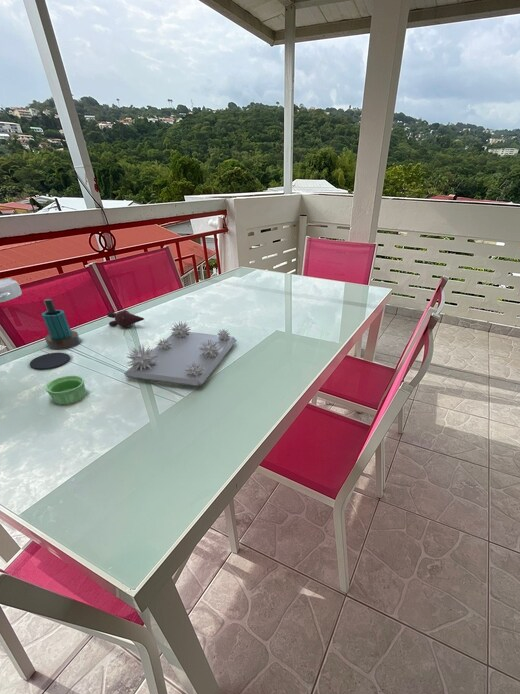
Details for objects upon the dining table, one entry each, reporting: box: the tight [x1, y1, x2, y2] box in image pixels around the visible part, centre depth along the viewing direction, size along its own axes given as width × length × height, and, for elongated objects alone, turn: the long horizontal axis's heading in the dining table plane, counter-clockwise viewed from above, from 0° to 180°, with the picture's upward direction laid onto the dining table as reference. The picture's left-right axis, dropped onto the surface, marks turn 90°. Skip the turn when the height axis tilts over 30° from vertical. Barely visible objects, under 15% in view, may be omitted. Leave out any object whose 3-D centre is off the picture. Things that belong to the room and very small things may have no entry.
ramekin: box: [45, 375, 87, 405], centre depth 92 cm, size 9×9×4 cm
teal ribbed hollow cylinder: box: [41, 309, 72, 339], centre depth 115 cm, size 6×6×8 cm
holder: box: [43, 298, 81, 351], centre depth 115 cm, size 10×10×16 cm
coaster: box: [29, 352, 71, 371], centre depth 108 cm, size 11×11×1 cm
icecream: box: [106, 309, 145, 328], centre depth 133 cm, size 7×7×15 cm
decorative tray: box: [123, 320, 237, 388], centre depth 111 cm, size 35×26×10 cm
